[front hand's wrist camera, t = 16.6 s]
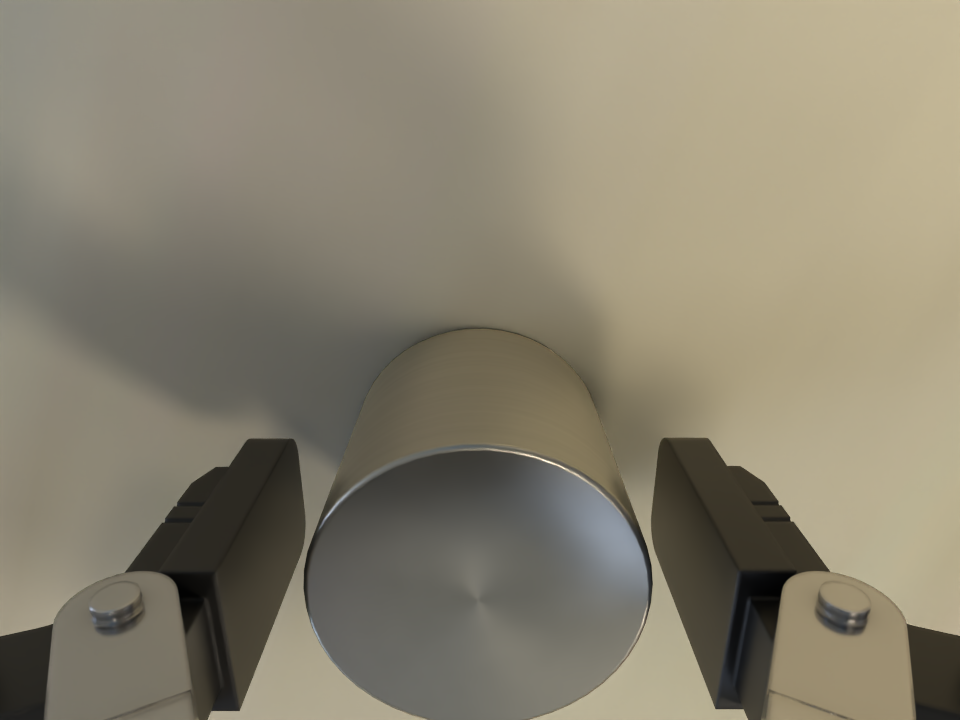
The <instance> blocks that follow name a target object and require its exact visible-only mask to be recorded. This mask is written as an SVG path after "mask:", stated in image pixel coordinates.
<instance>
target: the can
mask: <svg viewBox="0 0 960 720" xmlns="http://www.w3.org/2000/svg"><path fill="white" fill-rule="evenodd" d="M652 585H653V582H652V567H651V562H650V557H649V553H648V549H647V546H646V543H645V540H644V537H643V535H642V532H641V529H640V527H639V524H638V521H637V519H636V516H635V513H634V510H633V508H632V505H631V502H630V500H629V497H628V494H627V492H626V489H625V486H624V483H623V481H622V478H621V475H620V473H619V470H618V467H617V465H616V462H615V459H614V456H613V454H612V451H611V448H610V446H609V443H608V440H607V438H606V435H605V432H604V429H603V427H602V424H601V421H600V419H599V416H598V413H597V411H596V408H595V405H594V403H593V400H592V398H591V395H590V393H589V391H588V390H587V388H586V386H585V384H584V383H583V381H582V380H581V378H580V377H579V376H578V375H577V373H576V372H575V371H574V370H573V368H572V367H571V366H570V365H569V364H568V363H566V362H565V361H564V360H563V359H562V358H561V357H560V356H558V355H557V354H556V353H554V352H553V351H551V350H550V349H549V348H547V347H545V346H543V345H541V344H540V343H538V342H536V341H534V340H531V339H529V338H526V337H524V336H521V335H518V334H514V333H510V332H506V331H501V330H492V329H464V330H457V331H451V332H447V333H443V334H440V335H436V336H433V337H431V338H428V339H426V340H424V341H421V342H419V343H417V344H416V345H414V346H412V347H410V348H409V349H407V350H405V351H404V352H403V353H401V354H400V355H399V356H398V357H396V358H395V359H394V360H393V361H392V362H391V363H390V364H389V365H388V366H387V367H386V368H385V369H384V370H383V371H382V372H381V373H380V375H379V376H378V377H377V379H376V380H375V381H374V383H373V385H372V386H371V388H370V390H369V392H368V394H367V396H366V398H365V401H364V403H363V406H362V409H361V411H360V414H359V417H358V419H357V422H356V425H355V427H354V430H353V432H352V435H351V438H350V440H349V443H348V446H347V448H346V451H345V454H344V456H343V459H342V461H341V464H340V467H339V469H338V472H337V475H336V477H335V480H334V483H333V485H332V488H331V490H330V493H329V496H328V498H327V501H326V504H325V506H324V509H323V512H322V514H321V517H320V519H319V522H318V525H317V527H316V530H315V533H314V535H313V538H312V541H311V544H310V546H309V549H308V552H307V557H306V563H305V568H304V595H305V602H306V608H307V612H308V615H309V618H310V622H311V625H312V628H313V630H314V632H315V634H316V636H317V638H318V641H319V643H320V645H321V646H322V648H323V649H324V651H325V652H326V654H327V655H328V656H329V658H330V659H331V661H332V662H333V663H334V664H335V665H336V666H337V667H338V669H339V670H340V671H341V672H342V673H343V674H344V675H345V676H346V677H347V678H349V679H350V680H351V681H352V682H353V683H354V684H355V685H356V686H358V687H359V688H361V689H362V690H363V691H365V692H366V693H368V694H369V695H371V696H372V697H374V698H376V699H377V700H379V701H381V702H383V703H385V704H387V705H389V706H391V707H393V708H395V709H398V710H400V711H403V712H405V713H408V714H410V715H414V716H417V717H421V718H424V719H428V720H529V719H533V718H536V717H539V716H542V715H546V714H549V713H552V712H554V711H556V710H559V709H561V708H563V707H566V706H568V705H570V704H572V703H574V702H575V701H577V700H579V699H581V698H582V697H584V696H586V695H587V694H589V693H590V692H592V691H593V690H594V689H596V688H597V687H598V686H600V685H601V684H602V683H604V682H605V681H606V680H607V679H608V678H609V677H610V676H611V675H612V674H613V673H614V672H615V671H616V670H617V669H618V668H619V667H620V666H621V664H622V663H623V662H624V661H625V659H626V658H627V657H628V656H629V654H630V653H631V651H632V649H633V648H634V646H635V644H636V643H637V641H638V639H639V637H640V635H641V632H642V630H643V628H644V625H645V623H646V619H647V615H648V612H649V608H650V604H651V596H652Z"/></svg>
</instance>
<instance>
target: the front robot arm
mask: <svg viewBox="0 0 960 720" xmlns="http://www.w3.org/2000/svg"><path fill="white" fill-rule="evenodd" d="M651 531H652V540H653V545H654V549H655V553H656V555H657V558H658V560H659V563H660V566H661V568H662V571H663V573H664V576H665V579H666V581H667V584H668V586H669V589H670V592H671V594H672V597H673V599H674V602H675V605H676V607H677V610H678V612H679V615H680V618H681V620H682V623H683V625H684V628H685V631H686V633H687V636H688V638H689V641H690V644H691V646H692V649H693V651H694V654H695V657H696V659H697V662H698V664H699V667H700V670H701V672H702V675H703V678H704V680H705V683H706V685H707V688H708V691H709V693H710V696H711V698H712V701H713V704H714V706H715V709H744V711H745V713H746V716H747V718H748V720H960V636H957V635H953V634H948V633H943V632H939V631H934V630H930V629H925V628H921V627H916V626H912V625H908V624H906V620H905V618H904V616H903V614H902V612H901V611H900V609H899V608H898V607H897V606H896V605H895V604H894V603H893V602H892V601H891V600H890V599H889V598H888V597H887V596H885V595H884V594H883V593H882V592H880V591H878V590H877V589H875V588H874V587H872V586H870V585H868V584H866V583H864V582H862V581H859V580H857V579H855V578H852V577H849V576H846V575H842V574H838V573H833V572H830V571H829V569H828V568H827V567H826V565H825V564H824V563H823V561H822V560H821V559H820V557H819V556H818V555H817V553H816V552H815V550H814V549H813V548H812V546H811V545H810V544H809V542H808V541H807V540H806V538H805V537H804V536H803V534H802V533H801V531H800V530H799V529H798V527H797V526H796V525H795V523H794V522H791V521H790V517H789V515H788V514H787V512H786V511H785V510H784V508H783V507H782V506H781V505H779V504H778V500H777V499H776V498H775V496H774V495H773V493H772V492H771V491H770V489H769V488H768V487H767V485H766V484H765V483H764V482H763V481H761V480H760V479H758V478H757V477H756V476H754V475H753V474H751V473H750V472H748V471H747V470H745V469H744V468H742V467H741V466H727V465H726V464H725V462H724V461H723V459H722V458H721V456H720V455H719V453H718V452H717V450H716V449H715V447H714V446H713V444H712V443H711V441H710V440H709V439H708V438H663V439H662V440H661V443H660V446H659V451H658V459H657V469H656V478H655V487H654V496H653V505H652V515H651ZM304 538H305V509H304V500H303V492H302V483H301V474H300V465H299V456H298V449H297V445H296V442H295V441H294V439H248V440H247V441H246V442H245V444H244V445H243V447H242V448H241V450H240V451H239V453H238V454H237V456H236V457H235V459H234V460H233V462H232V463H231V465H230V466H229V467H215V468H214V469H212V470H211V471H209V472H208V473H206V474H205V475H203V476H202V477H200V478H199V479H197V480H196V481H194V482H193V483H191V485H190V486H189V487H188V489H187V490H186V491H185V493H184V494H183V495H182V497H181V498H180V499H179V501H178V502H177V506H174V507H173V509H172V510H171V512H170V513H169V514H168V516H167V517H166V518H165V523H162V524H161V525H160V526H159V528H158V529H157V530H156V532H155V533H154V534H153V536H152V537H151V538H150V540H149V541H148V542H147V544H146V545H145V546H144V548H143V549H142V550H141V552H140V553H139V554H138V556H137V557H136V558H135V560H134V561H133V563H132V564H131V565H130V567H129V568H128V569H127V571H126V572H125V573H122V574H118V575H114V576H111V577H108V578H105V579H103V580H101V581H98V582H96V583H94V584H92V585H90V586H88V587H86V588H85V589H83V590H82V591H80V592H78V593H77V594H76V595H75V596H73V597H72V598H71V599H70V600H69V601H68V602H67V603H66V604H65V605H64V606H63V607H62V608H61V609H60V611H59V612H58V614H57V616H56V618H55V620H54V624H51V625H48V626H44V627H41V628H37V629H32V630H28V631H23V632H18V633H14V634H9V635H5V636H0V720H207V719H208V717H209V715H210V712H211V711H240V708H241V706H242V703H243V701H244V698H245V696H246V693H247V691H248V688H249V685H250V683H251V680H252V678H253V675H254V673H255V670H256V668H257V665H258V662H259V660H260V657H261V655H262V652H263V650H264V647H265V645H266V642H267V639H268V637H269V634H270V632H271V629H272V627H273V624H274V622H275V619H276V616H277V614H278V611H279V609H280V606H281V604H282V601H283V599H284V596H285V593H286V591H287V588H288V586H289V583H290V581H291V578H292V576H293V573H294V570H295V568H296V565H297V563H298V560H299V558H300V555H301V552H302V549H303V544H304Z"/></svg>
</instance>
